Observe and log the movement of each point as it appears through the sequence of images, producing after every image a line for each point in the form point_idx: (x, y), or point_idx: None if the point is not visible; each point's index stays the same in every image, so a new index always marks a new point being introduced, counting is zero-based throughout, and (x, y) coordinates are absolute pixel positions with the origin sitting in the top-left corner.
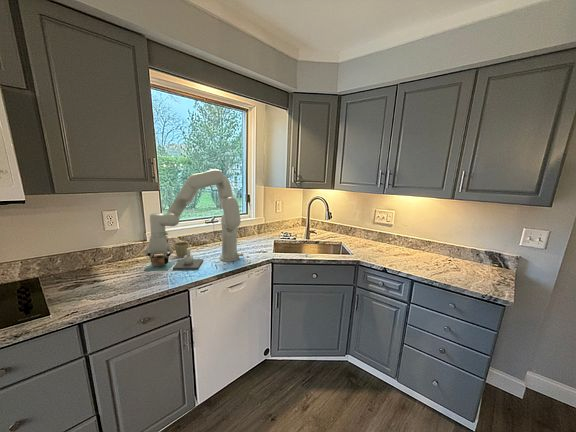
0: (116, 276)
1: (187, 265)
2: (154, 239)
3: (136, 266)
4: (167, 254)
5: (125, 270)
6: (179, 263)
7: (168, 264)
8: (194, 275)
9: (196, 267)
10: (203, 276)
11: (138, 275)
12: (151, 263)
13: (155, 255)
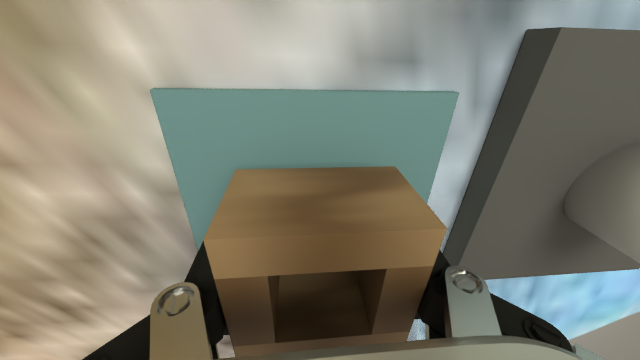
0: (83, 354)
1: (578, 238)
2: None
3: (36, 197)
4: (473, 316)
5: (31, 282)
6: (519, 195)
7: (391, 165)
8: (559, 313)
9: (628, 269)
10: (599, 319)
11: (226, 335)
12: (162, 128)
13: (213, 263)
